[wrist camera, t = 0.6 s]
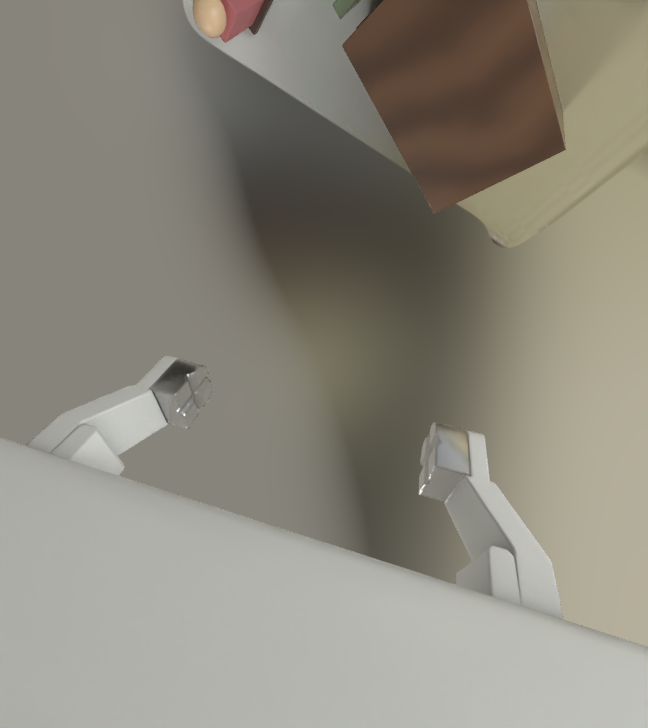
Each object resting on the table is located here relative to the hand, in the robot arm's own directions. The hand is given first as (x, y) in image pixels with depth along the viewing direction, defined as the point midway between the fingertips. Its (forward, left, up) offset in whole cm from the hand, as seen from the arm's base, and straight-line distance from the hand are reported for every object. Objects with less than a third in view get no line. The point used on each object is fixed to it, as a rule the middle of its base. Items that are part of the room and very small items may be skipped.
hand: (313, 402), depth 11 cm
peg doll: (+18, -17, -45) cm, 51 cm away
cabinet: (+1, +3, -45) cm, 45 cm away
